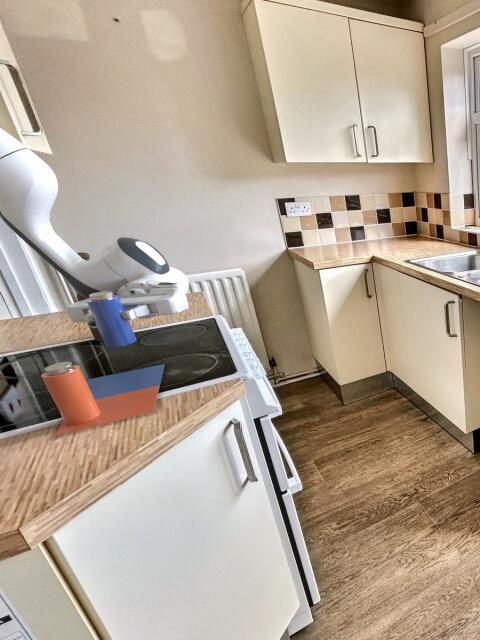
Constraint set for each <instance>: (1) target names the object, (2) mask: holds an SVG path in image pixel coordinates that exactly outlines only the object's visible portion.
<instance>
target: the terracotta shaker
mask: <svg viewBox="0 0 480 640" xmlns="http://www.w3.org/2000/svg"><path fill="white" fill-rule="evenodd" d="M40 377H41V379H42V381H43V383H44V384H45V387H46V389H47V391H48V393H49V395H50V396H51V399H52V401H53V402H54V404H55V406H56V409H57V411H58V412H59V415H60V417H61V419H62V421H63V420H64V422H65V424H67V425H76V424H81V423H85V422H88V421H90V420H92V419H94V418H96V417H98V416H99V415H100V414H101V412H100V409H99V407H98V405H97V403H96V401H95V399H94V396H93V394H92V392H91V390H90V388H89V386H88V383H87V379H86V377H85V375H84V372H83V371H82V369H81V366H80V365H78V364H74V363H73V362H71V361H62V362H58V363H54V364H51V365H49V366H46V367H45V368H44V372H43V373H41V375H40Z"/></svg>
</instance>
